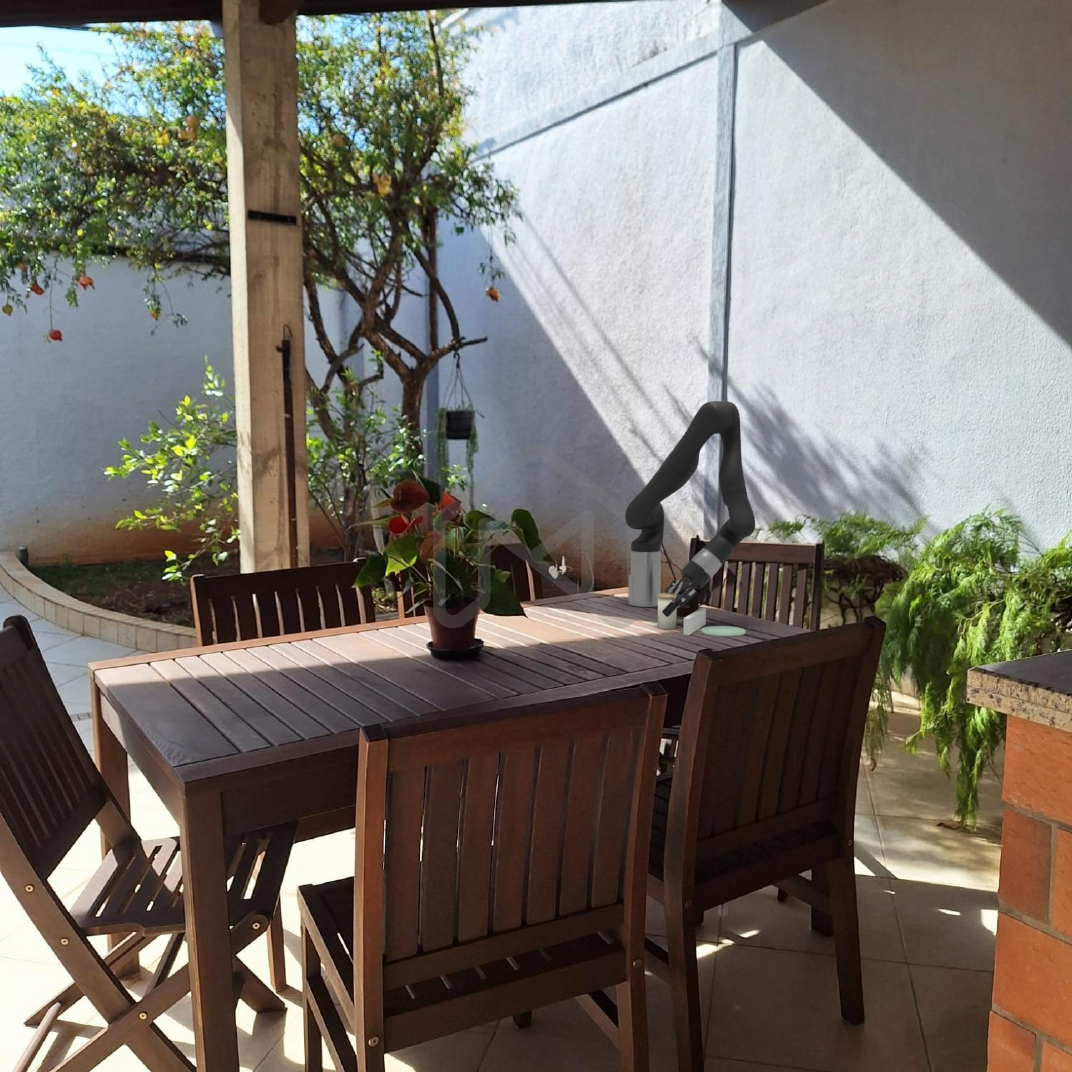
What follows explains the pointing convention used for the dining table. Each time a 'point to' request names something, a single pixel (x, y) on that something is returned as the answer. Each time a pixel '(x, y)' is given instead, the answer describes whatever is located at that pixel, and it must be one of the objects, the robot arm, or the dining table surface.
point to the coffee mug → (692, 604)
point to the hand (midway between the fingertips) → (661, 612)
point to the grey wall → (694, 621)
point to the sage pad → (723, 631)
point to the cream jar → (662, 603)
